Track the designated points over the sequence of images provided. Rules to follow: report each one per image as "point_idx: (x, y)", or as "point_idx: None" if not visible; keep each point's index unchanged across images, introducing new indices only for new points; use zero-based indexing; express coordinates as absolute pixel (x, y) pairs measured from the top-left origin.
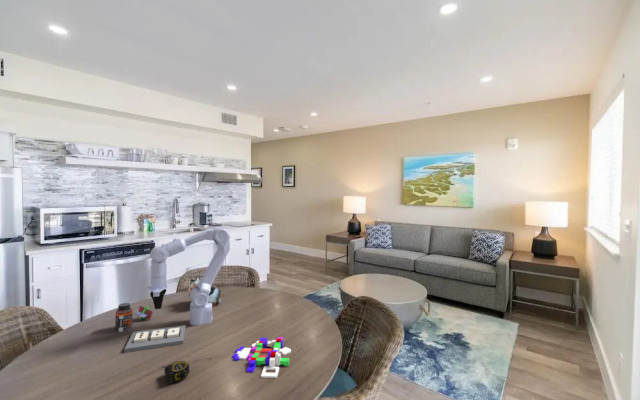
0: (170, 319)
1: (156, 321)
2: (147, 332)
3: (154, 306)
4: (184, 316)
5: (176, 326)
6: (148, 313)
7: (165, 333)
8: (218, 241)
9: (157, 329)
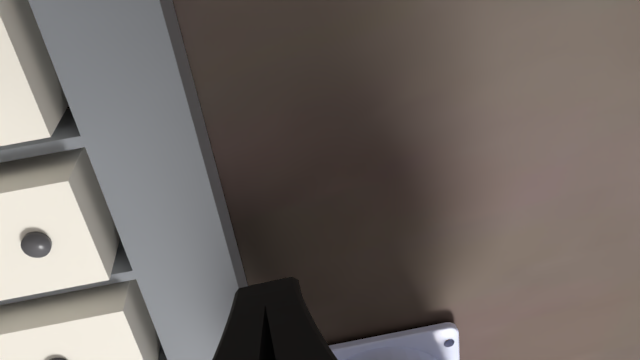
0: (589, 141)
1: (592, 5)
2: (17, 133)
3: (230, 320)
4: (613, 246)
5: None
6: None
7: None
8: None
9: (180, 176)
